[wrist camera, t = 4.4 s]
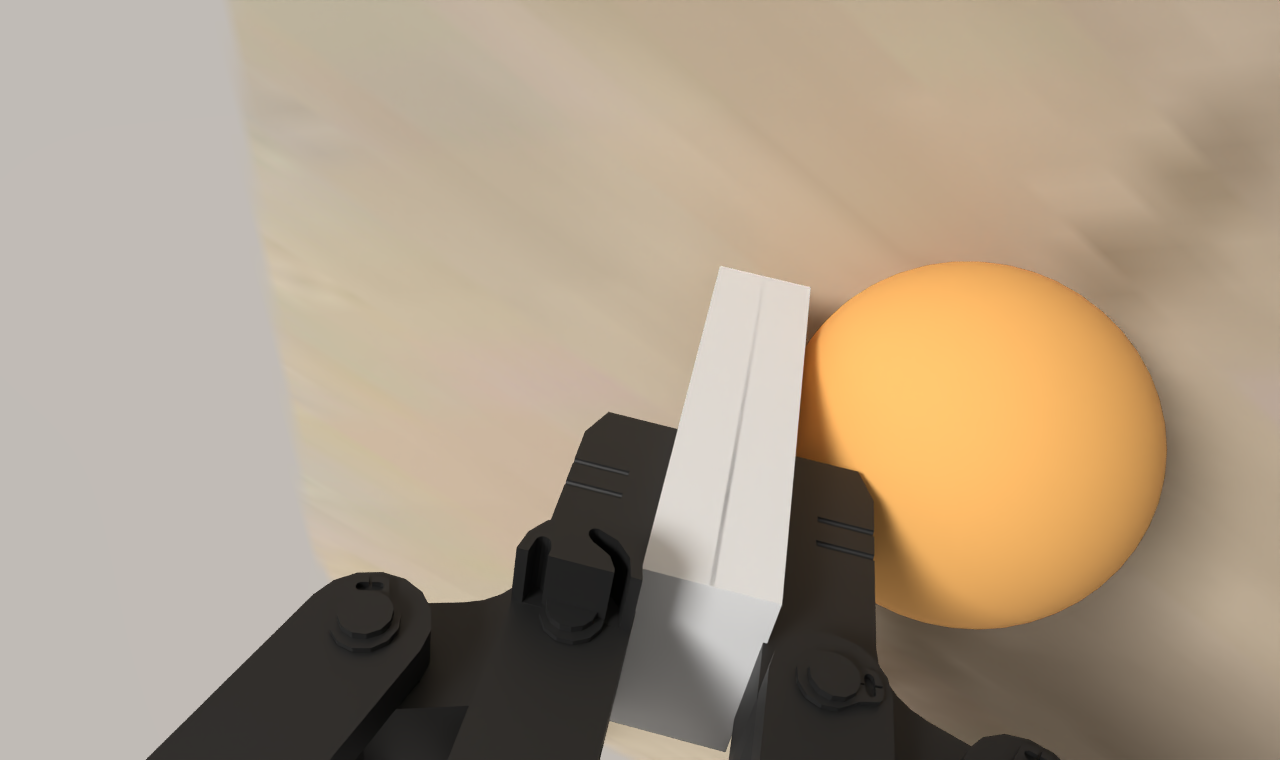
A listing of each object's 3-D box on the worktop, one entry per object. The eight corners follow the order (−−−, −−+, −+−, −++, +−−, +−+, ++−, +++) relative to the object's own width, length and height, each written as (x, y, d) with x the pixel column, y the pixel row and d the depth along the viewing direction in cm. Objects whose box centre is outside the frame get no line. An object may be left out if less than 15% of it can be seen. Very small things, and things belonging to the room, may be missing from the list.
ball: (947, 167, 16) (1292, 321, 13) (851, 417, 19) (1113, 580, 16) (753, 255, 12) (1175, 492, 9) (676, 545, 15) (975, 780, 13)
